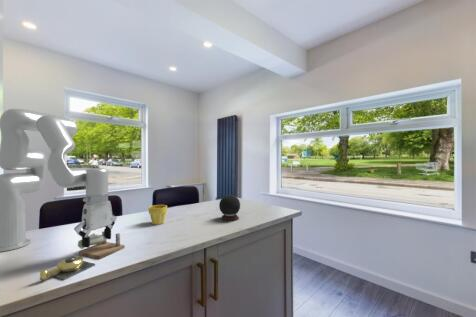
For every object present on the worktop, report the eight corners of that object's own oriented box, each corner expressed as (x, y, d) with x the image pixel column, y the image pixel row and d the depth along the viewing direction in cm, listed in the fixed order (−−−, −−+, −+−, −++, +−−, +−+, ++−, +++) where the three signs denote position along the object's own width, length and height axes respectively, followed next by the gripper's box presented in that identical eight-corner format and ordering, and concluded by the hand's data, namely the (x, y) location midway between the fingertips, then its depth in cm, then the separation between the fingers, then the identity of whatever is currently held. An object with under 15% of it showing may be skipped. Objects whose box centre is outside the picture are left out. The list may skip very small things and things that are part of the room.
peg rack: (78, 254, 86) (78, 238, 86) (104, 244, 97) (104, 230, 97) (99, 259, 82) (99, 242, 82) (124, 248, 92) (124, 233, 92)
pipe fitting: (107, 242, 92) (91, 241, 92) (108, 233, 92) (92, 231, 92) (94, 250, 84) (77, 248, 84) (95, 240, 84) (78, 238, 84)
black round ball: (239, 215, 144) (239, 193, 144) (241, 221, 131) (241, 196, 131) (219, 216, 143) (219, 193, 143) (219, 222, 130) (218, 196, 130)
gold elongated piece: (33, 278, 68) (33, 268, 68) (74, 261, 79) (74, 252, 79) (47, 282, 65) (47, 272, 65) (87, 264, 76) (87, 255, 76)
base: (44, 274, 71) (44, 272, 71) (76, 260, 81) (76, 259, 81) (63, 280, 68) (63, 278, 68) (95, 265, 77) (95, 263, 77)
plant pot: (145, 223, 129) (145, 206, 129) (162, 219, 136) (162, 203, 136) (152, 227, 121) (152, 209, 121) (170, 223, 128) (170, 206, 128)
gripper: (81, 203, 78) (81, 252, 78) (122, 196, 94) (122, 236, 94) (67, 202, 81) (67, 249, 81) (110, 195, 97) (110, 234, 97)
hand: (97, 242), depth 87 cm, fingers closed on pipe fitting, 8 cm apart
